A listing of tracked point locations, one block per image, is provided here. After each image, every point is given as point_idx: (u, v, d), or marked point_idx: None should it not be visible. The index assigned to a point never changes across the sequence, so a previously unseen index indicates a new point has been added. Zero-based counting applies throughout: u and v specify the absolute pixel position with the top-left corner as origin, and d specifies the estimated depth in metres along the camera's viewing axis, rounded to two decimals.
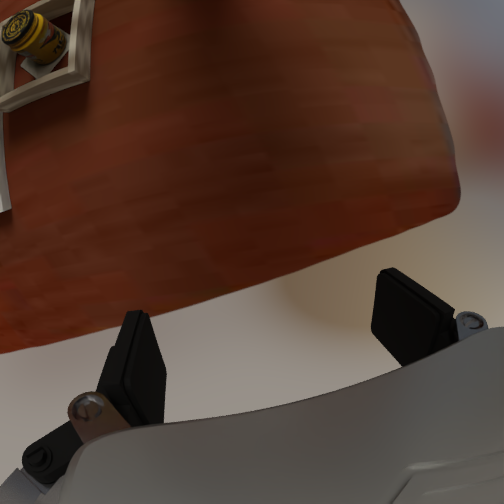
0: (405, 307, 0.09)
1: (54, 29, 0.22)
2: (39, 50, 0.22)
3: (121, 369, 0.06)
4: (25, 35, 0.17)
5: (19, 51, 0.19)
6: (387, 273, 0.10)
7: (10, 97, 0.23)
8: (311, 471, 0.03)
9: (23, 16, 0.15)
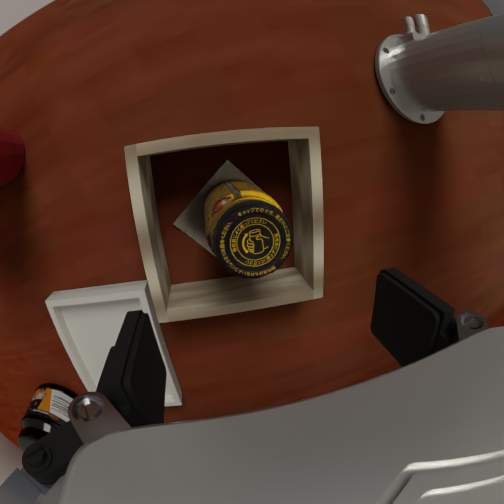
0: (405, 307, 0.09)
1: None
2: None
3: (121, 369, 0.06)
4: None
5: None
6: (387, 273, 0.10)
7: (209, 315, 0.26)
8: (311, 471, 0.03)
9: (271, 226, 0.18)
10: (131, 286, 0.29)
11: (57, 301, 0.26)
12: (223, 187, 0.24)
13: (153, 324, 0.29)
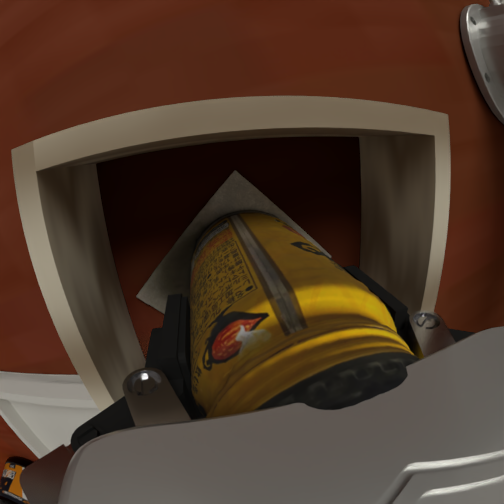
0: None
1: None
2: None
3: (175, 344, 0.07)
4: None
5: None
6: None
7: None
8: (311, 471, 0.03)
9: None
10: None
11: None
12: (231, 242, 0.10)
13: None
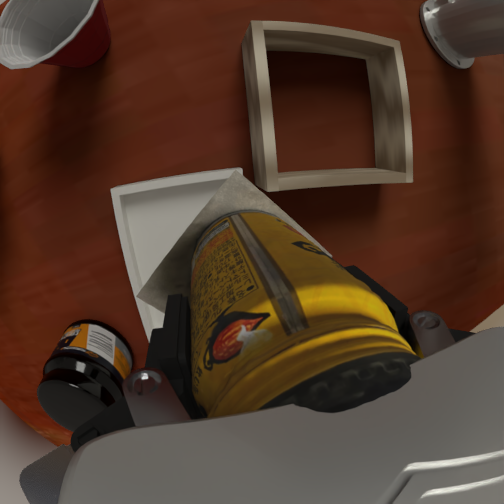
0: None
1: None
2: None
3: (175, 344, 0.07)
4: None
5: None
6: None
7: (320, 186, 0.25)
8: (311, 471, 0.03)
9: None
10: (223, 169, 0.27)
11: (128, 187, 0.25)
12: (232, 241, 0.10)
13: None
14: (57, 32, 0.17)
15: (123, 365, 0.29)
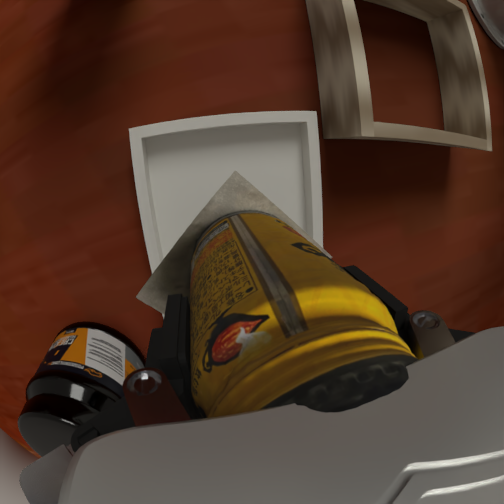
0: None
1: None
2: None
3: (175, 344, 0.07)
4: None
5: None
6: (346, 271, 0.11)
7: (415, 138, 0.17)
8: (311, 471, 0.03)
9: None
10: None
11: (155, 126, 0.17)
12: (231, 242, 0.10)
13: (319, 169, 0.20)
14: None
15: None
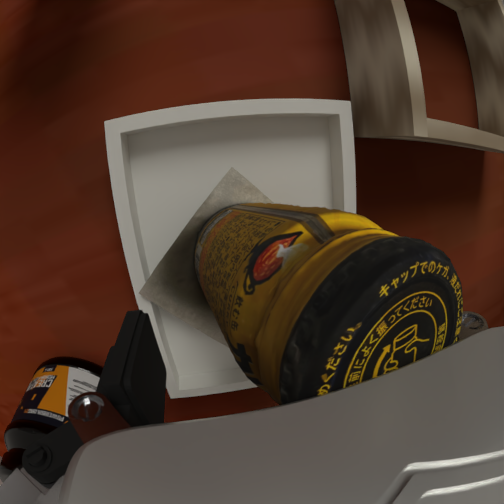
0: None
1: None
2: None
3: (121, 369, 0.06)
4: None
5: None
6: None
7: (468, 142, 0.12)
8: (311, 471, 0.03)
9: (440, 309, 0.05)
10: None
11: (139, 117, 0.12)
12: (241, 214, 0.11)
13: (354, 175, 0.15)
14: None
15: None
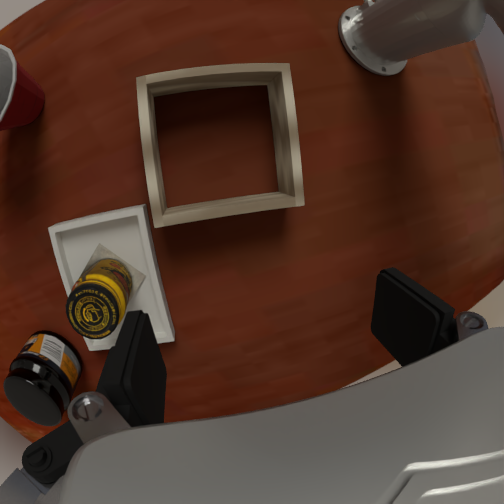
0: (405, 307, 0.09)
1: (126, 282, 0.29)
2: None
3: (121, 369, 0.06)
4: (114, 327, 0.24)
5: None
6: (387, 273, 0.10)
7: (201, 219, 0.29)
8: (311, 471, 0.03)
9: (99, 301, 0.22)
10: (130, 207, 0.31)
11: (60, 226, 0.29)
12: (89, 269, 0.28)
13: (149, 243, 0.32)
14: (3, 96, 0.21)
15: (69, 368, 0.32)
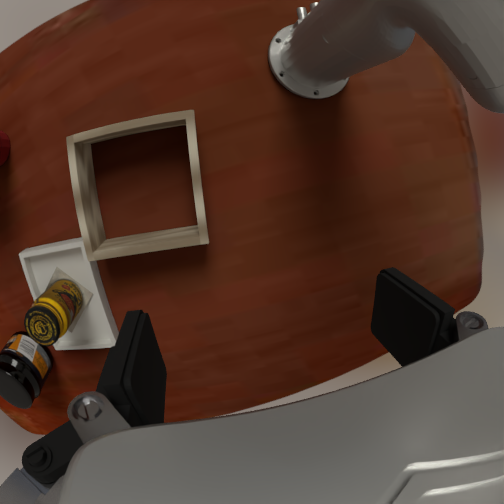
0: (405, 307, 0.09)
1: (72, 302, 0.33)
2: None
3: (121, 369, 0.06)
4: (58, 338, 0.28)
5: None
6: (387, 273, 0.10)
7: (121, 255, 0.33)
8: (311, 471, 0.03)
9: (45, 320, 0.26)
10: (77, 239, 0.35)
11: (27, 253, 0.33)
12: (46, 289, 0.32)
13: (91, 269, 0.36)
14: None
15: (40, 363, 0.37)
